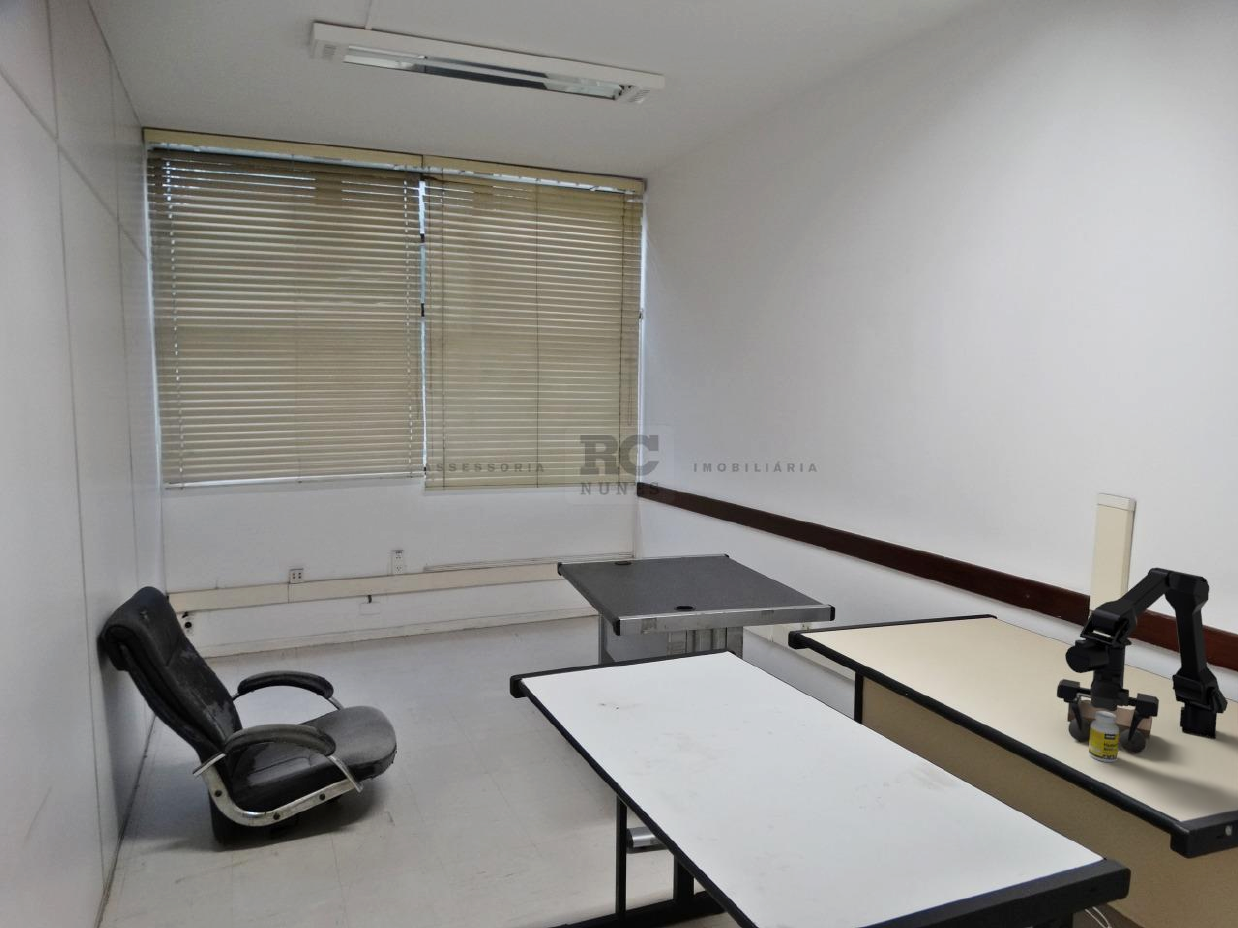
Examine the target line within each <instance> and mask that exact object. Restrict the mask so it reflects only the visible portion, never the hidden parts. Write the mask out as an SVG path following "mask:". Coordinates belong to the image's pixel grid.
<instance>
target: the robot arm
mask: <svg viewBox="0 0 1238 928" xmlns="http://www.w3.org/2000/svg"><path fill="white" fill-rule="evenodd" d="M1209 593H1210V585H1209V582H1208V579H1207V578H1205V577H1204V576H1201V575H1194V574H1190V573H1186V572H1182V571H1181V572H1180V571H1176V570H1171V569H1167V568H1162V567H1151V568H1150V569H1149V570H1148V572H1147V574H1146V575H1145V576H1144V577H1143V578H1142V579H1140V581H1138V583H1136V584H1135V585H1134V586H1132V588H1130V589H1129V590H1127V592H1126V593H1124V595H1123V594H1122V596H1121V597H1119V598H1118V599H1116V600H1110V601H1107V602H1104V603H1103V604H1100V605H1099V606H1097V607H1096V608H1095V609H1094V610H1093V611H1092V612H1091V614H1090V616H1089V617H1088V619H1087V621H1086V622H1085V624H1084V627H1083V628H1082V630H1081V632H1080V633H1079V637H1080V638H1083V639H1075V642H1074V645H1072V646H1070V647H1068V648H1067V650H1066V652H1065V655H1064V656H1065V661H1066V664H1067V666H1068V668H1070V670H1072V671H1073V672H1075V673H1077V674H1083V673H1088V672H1089V673H1090V672H1092V680H1091V683H1090V688H1085V687H1083V686H1081V682H1080V681H1078V680H1077V681H1075V680H1071V679H1067V678H1066V679H1064V678H1063V679H1061V680H1060V681H1059V683H1058V685H1057V688H1056V697H1058V698H1059V699H1063V700H1062V701H1063V702H1064V703H1067V704H1068V705H1070V706H1071V708H1072V710H1073V712H1074V715H1075V718H1076V721H1077V724H1078V727H1079V730H1082V722H1083V721H1082V701H1081V700H1082V697H1083V698H1089V699H1090V700H1091V706H1092V707H1094V708H1102V709H1107V710H1109V711H1116V710H1117V707H1128V706H1129V707H1133V708H1134V713H1133V717H1132V721H1131V726H1130V730H1129V734H1128V741H1130V740H1131V738H1132V736H1133V734H1134V732H1135V730H1136V728H1137V726H1138V725H1139V723H1140V722H1141V721H1142V720H1143V719H1149V718H1150V716H1152V718H1155V717H1156V718H1157V717H1158V713H1159V705H1160V700H1159V698H1158V697H1157V696H1154V695H1150V694H1145V693H1144V694H1143V693H1139V692H1137V693H1136V697H1134V696H1130V690H1129V689H1128V688H1124V677H1125V663H1126V662H1125V661H1126V648H1127V647H1128V646H1132V645H1133V643H1132V641H1131V640H1130V639H1129V637H1130V635H1132V633H1133V632H1134V631H1135V630H1136V629H1137V627H1138V618H1139V617H1140V616H1141V615H1142V614H1143V613H1144V612H1146V610H1147V609H1149V608H1150V607H1151V606H1152V605H1154V604H1155V603H1156V602H1157V601H1158V600H1159V599H1160V598H1161V597H1162V596H1163V595H1164V598H1165V601H1166V602H1167V603H1168V604H1169V605H1170V606H1171V607H1172V609H1173V611H1174V614H1175V623H1176V633H1177V641H1178V649H1179V650H1178V651H1179V658H1180V667H1179V669H1178V670H1177V671H1176V673H1174V674H1173V675H1172V676H1171V679H1172V685H1173V686H1172V690H1174V695H1175V702H1178V703H1179V702H1180V703H1183V706H1181V707H1180V718H1179V727H1181V732H1182V733H1186V734H1191V735H1196V736H1202V737H1206V738H1211V739H1216V738H1217V719H1218V718H1217V717H1218V714H1225V711H1226V710H1227V708H1228V704H1229V702H1228V700H1227V698H1226V697H1225V696H1224V694H1223V692H1222V691H1221V690H1220V686H1219V683H1218V678H1217V677H1216V676H1215V674H1214V673H1213V672H1212V670H1211V669H1210V668H1209V666H1208V663H1207V661H1208V660H1207V652H1206V642H1205V635H1204V634H1205V633H1204V625H1203V624H1204V623H1203V615H1202V614H1203V613H1202V609H1203V607H1204V606H1205V605H1206V604H1207V602H1208V601H1209ZM1094 631H1095V632H1094ZM1099 633H1100V634H1099ZM1102 634H1103V635H1102Z"/></svg>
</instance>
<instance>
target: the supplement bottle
mask: <svg viewBox="0 0 1238 928" xmlns="http://www.w3.org/2000/svg"><path fill="white" fill-rule="evenodd" d="M1095 719H1096V720H1095V721H1093V722H1092V723H1091V728H1090V740H1089V741H1088V742H1089V743H1088V744H1089V746H1088V754H1089V756H1090V757H1091V758H1093V759H1095V760H1098V761H1100V762H1105V763H1113V762H1116V761H1117V760H1118V752H1119V751H1118V750H1119V737H1120V733H1119V728H1118V726H1117V725H1116V719H1117V717H1116V715H1115V714H1113V713H1110V712H1106V711H1097V712H1096V713H1095Z"/></svg>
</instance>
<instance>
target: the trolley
mask: <svg viewBox="0 0 1238 928" xmlns="http://www.w3.org/2000/svg"><path fill="white" fill-rule="evenodd" d="M1081 701H1082V721H1083V722H1082V730H1079V727H1078V724H1077V721H1076V718H1075V715H1074V712H1073V710H1072V708H1071V706H1070V705H1069V704H1068V708H1067V710H1068V711H1067V721H1066V722H1068V723H1069V724H1068V733H1069V735H1070V736H1071V738H1073V739H1074V740H1076V741H1078V742H1090V728H1091V723H1092V722H1093V721H1095V720H1096V719H1095V713H1096V712H1097V711H1106V712H1110V713H1113V714H1115V715H1116V717H1117V719H1116V725H1117V726H1118V728H1119V741H1118V743H1119V744H1120V746H1121V749H1123V750H1124V751H1126V752H1128V753H1131V754H1140V753H1142V752H1144V750H1145V749H1146V747H1147V740H1150V736H1151V730H1152V726H1153V725H1152V723H1153V717H1152V716H1150V718H1149V719H1143V720H1142V721H1141V722H1140V723H1139V725H1138V726H1137V728H1136V730H1135V732H1134V734H1133V736H1132V738H1131V740H1130V741H1128V734H1129V730H1130V726H1131V721H1132V717H1133V713H1134V709H1135V708H1134V709H1128V708H1122V707H1120V706H1117V710H1116V711H1109V710H1107V709H1102V708H1094V707H1092V706H1091V699H1081Z"/></svg>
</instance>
